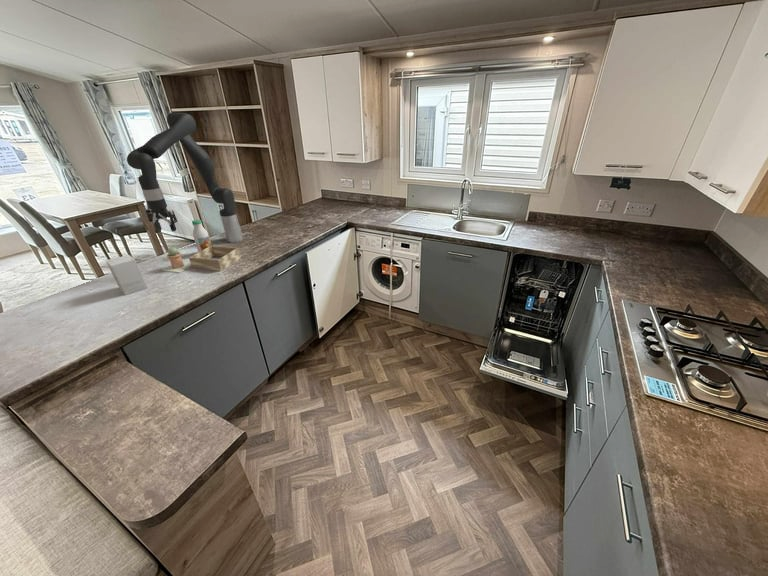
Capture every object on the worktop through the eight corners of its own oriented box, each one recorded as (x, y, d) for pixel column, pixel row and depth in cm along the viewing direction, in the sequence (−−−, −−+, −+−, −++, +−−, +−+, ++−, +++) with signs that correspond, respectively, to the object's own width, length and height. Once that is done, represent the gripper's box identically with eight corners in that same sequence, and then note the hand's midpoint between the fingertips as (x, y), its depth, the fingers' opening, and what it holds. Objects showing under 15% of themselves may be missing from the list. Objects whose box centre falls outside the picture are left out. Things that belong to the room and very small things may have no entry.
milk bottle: (197, 256, 173) (186, 223, 163) (200, 251, 179) (190, 219, 169) (212, 255, 175) (202, 222, 165) (214, 250, 181) (205, 218, 171)
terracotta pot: (177, 263, 163) (170, 244, 158) (187, 264, 162) (181, 245, 157) (168, 268, 158) (161, 249, 152) (178, 269, 157) (171, 250, 151)
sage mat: (178, 262, 166) (177, 261, 166) (195, 264, 164) (195, 263, 164) (161, 270, 156) (161, 270, 156) (179, 272, 155) (179, 272, 154)
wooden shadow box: (214, 255, 175) (211, 245, 172) (241, 257, 172) (238, 247, 169) (192, 267, 160) (188, 257, 157) (221, 270, 157) (218, 260, 154)
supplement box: (142, 282, 146) (129, 254, 138) (148, 288, 141) (135, 259, 133) (119, 289, 140) (104, 260, 132) (124, 295, 135) (110, 265, 127)
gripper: (173, 197, 145) (184, 229, 153) (148, 195, 147) (160, 227, 155) (161, 200, 138) (173, 233, 147) (135, 199, 141) (148, 231, 149)
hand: (166, 230), depth 151 cm, fingers open, 8 cm apart
